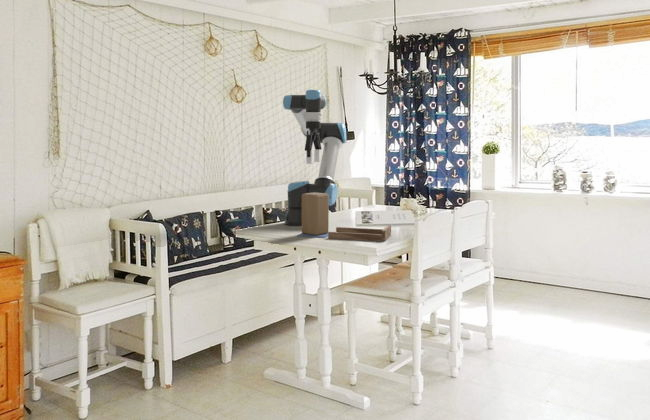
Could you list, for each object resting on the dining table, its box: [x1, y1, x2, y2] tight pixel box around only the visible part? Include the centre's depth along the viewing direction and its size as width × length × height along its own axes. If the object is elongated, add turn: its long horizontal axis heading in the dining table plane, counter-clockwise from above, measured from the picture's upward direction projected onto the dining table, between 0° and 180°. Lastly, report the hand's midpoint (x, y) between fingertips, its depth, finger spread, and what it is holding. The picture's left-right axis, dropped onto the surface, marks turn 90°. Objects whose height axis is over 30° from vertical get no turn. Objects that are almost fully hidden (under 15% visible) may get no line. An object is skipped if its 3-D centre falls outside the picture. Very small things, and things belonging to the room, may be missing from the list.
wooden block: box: [301, 192, 330, 236], centre depth 314 cm, size 10×10×20 cm
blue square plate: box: [297, 232, 328, 239], centre depth 315 cm, size 14×14×1 cm
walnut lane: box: [327, 225, 392, 242], centre depth 309 cm, size 16×28×5 cm, turn 74°
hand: (313, 163), depth 324 cm, fingers open, 13 cm apart
